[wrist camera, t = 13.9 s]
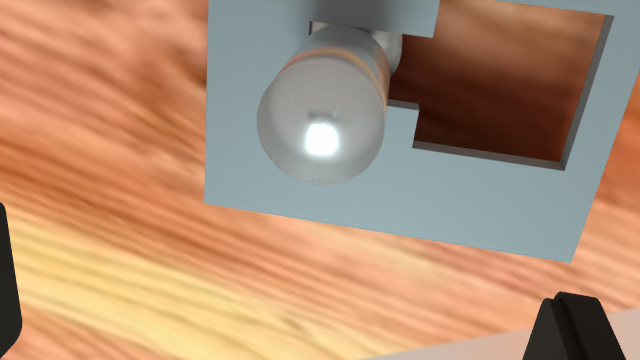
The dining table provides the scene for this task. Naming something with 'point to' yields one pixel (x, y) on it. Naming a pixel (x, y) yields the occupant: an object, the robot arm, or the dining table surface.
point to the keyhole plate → (412, 136)
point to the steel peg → (329, 104)
